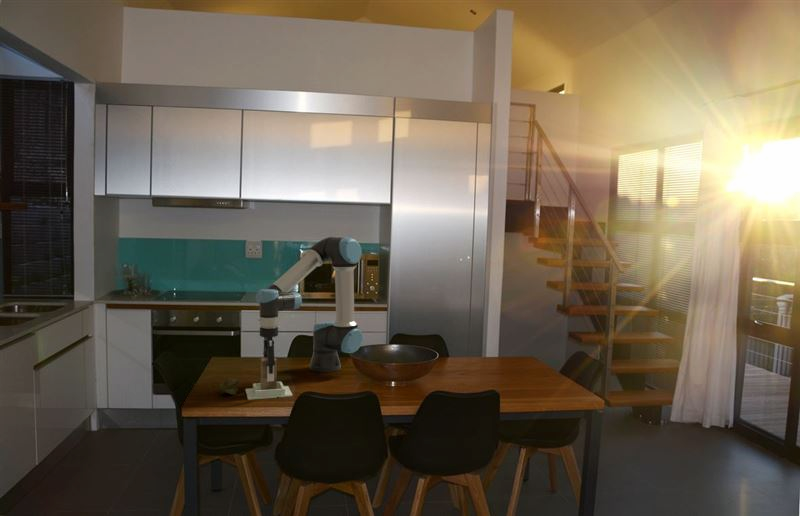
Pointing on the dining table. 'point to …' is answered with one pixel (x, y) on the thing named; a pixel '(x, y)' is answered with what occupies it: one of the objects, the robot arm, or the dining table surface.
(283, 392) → the holder plate
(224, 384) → the fruit
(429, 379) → the dining table surface
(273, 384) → the wooden square post
